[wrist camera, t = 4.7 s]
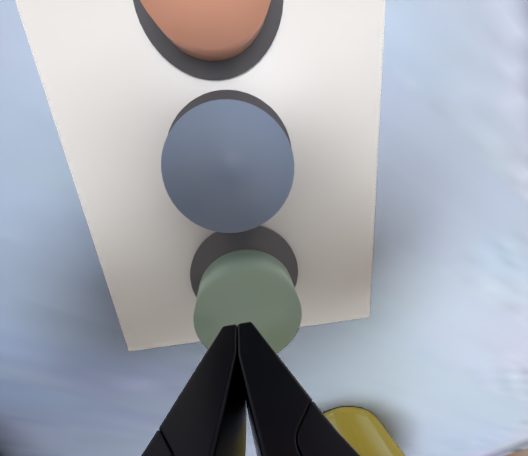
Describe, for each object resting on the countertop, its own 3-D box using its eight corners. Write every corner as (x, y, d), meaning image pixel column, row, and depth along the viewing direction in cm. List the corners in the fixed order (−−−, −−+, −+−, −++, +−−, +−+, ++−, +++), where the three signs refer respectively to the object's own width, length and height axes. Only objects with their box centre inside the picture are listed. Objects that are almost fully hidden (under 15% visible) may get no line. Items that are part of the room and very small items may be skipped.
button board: (356, 298, 19) (371, 320, 17) (139, 328, 18) (127, 355, 16) (367, -110, 12) (397, -161, 10) (14, -95, 11) (-39, -148, 9)
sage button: (294, 323, 14) (303, 353, 13) (206, 336, 14) (203, 368, 12) (289, 243, 13) (299, 264, 11) (190, 256, 13) (184, 278, 11)
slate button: (287, 209, 12) (297, 225, 11) (184, 221, 12) (175, 239, 10) (280, 98, 11) (290, 93, 9) (162, 108, 11) (146, 105, 9)
